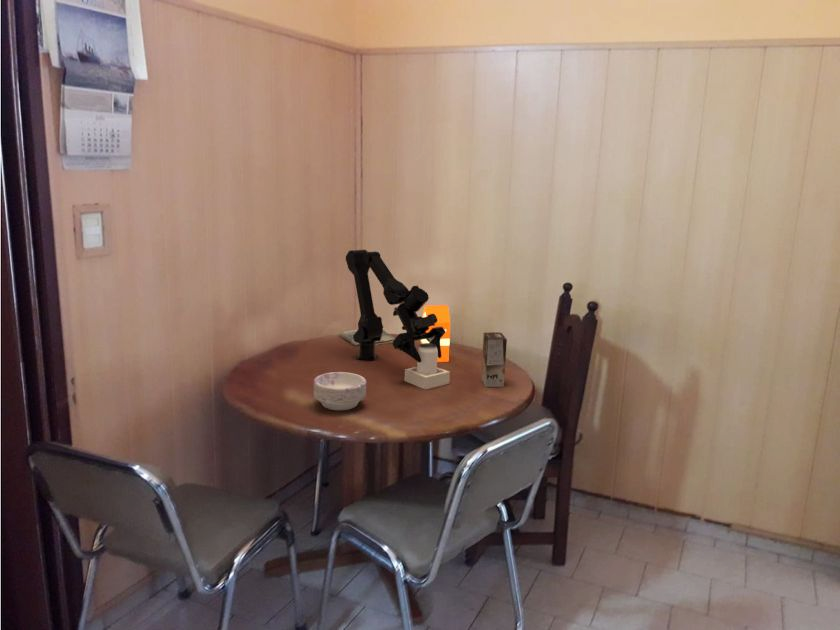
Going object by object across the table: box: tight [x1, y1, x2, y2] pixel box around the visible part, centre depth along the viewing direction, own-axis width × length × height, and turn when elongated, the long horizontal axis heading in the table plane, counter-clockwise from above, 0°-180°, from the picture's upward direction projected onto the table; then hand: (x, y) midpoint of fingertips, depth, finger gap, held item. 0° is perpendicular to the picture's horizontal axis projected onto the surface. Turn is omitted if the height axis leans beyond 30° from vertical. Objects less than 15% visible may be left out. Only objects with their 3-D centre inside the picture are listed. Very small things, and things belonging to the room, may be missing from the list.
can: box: [416, 343, 438, 376], centre depth 223 cm, size 6×6×12 cm
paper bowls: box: [313, 371, 367, 412], centre depth 200 cm, size 15×15×8 cm
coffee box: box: [480, 331, 508, 388], centre depth 224 cm, size 9×6×16 cm
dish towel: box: [338, 329, 396, 348], centre depth 273 cm, size 19×18×3 cm
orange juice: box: [420, 304, 451, 363], centre depth 248 cm, size 8×9×20 cm
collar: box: [404, 366, 451, 390], centre depth 224 cm, size 10×10×4 cm
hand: (430, 359), depth 221 cm, fingers open, 8 cm apart
